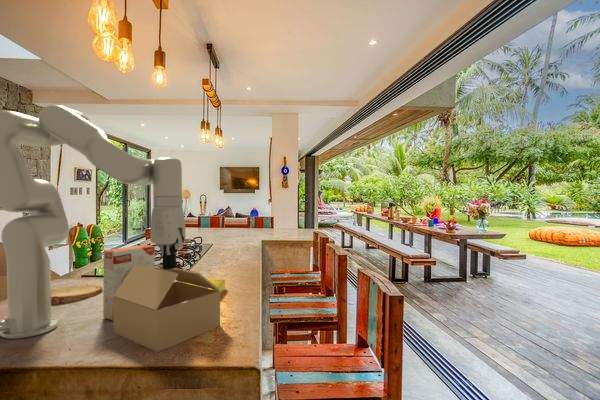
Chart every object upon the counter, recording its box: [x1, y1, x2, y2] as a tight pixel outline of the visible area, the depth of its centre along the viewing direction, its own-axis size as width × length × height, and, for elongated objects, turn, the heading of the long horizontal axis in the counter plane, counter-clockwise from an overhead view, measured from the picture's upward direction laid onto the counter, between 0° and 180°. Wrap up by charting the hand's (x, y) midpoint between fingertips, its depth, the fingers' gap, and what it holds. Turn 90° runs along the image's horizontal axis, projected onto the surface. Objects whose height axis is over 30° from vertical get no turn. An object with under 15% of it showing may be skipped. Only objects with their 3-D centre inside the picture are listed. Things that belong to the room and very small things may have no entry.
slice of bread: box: [51, 283, 103, 306], centre depth 126 cm, size 18×18×4 cm
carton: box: [113, 280, 221, 353], centre depth 97 cm, size 20×20×10 cm
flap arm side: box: [113, 264, 178, 310], centre depth 91 cm, size 10×19×1 cm
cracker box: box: [102, 244, 156, 322], centre depth 110 cm, size 14×6×21 cm, turn 148°
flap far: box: [155, 263, 219, 291], centre depth 102 cm, size 10×19×1 cm
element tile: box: [187, 278, 226, 297], centre depth 131 cm, size 15×15×5 cm
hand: (169, 268), depth 97 cm, fingers closed
